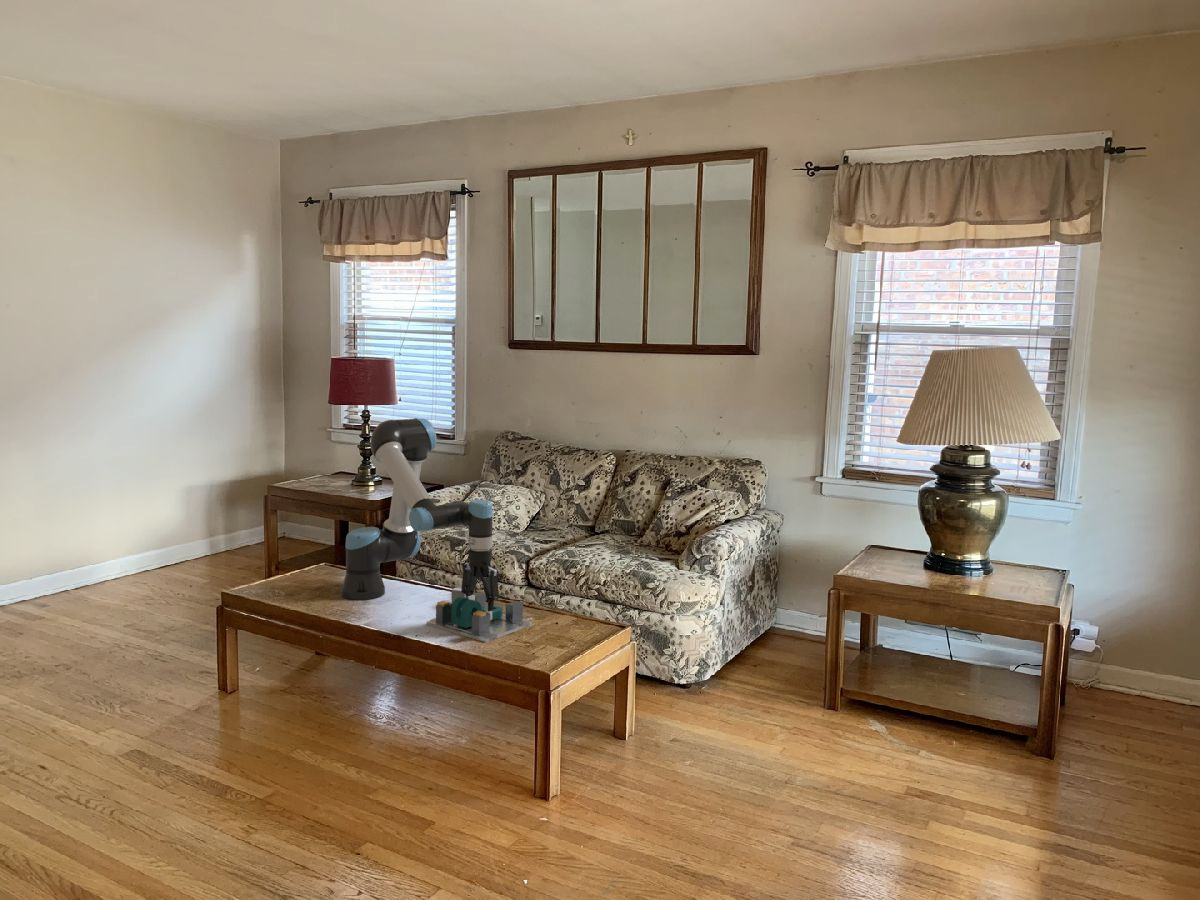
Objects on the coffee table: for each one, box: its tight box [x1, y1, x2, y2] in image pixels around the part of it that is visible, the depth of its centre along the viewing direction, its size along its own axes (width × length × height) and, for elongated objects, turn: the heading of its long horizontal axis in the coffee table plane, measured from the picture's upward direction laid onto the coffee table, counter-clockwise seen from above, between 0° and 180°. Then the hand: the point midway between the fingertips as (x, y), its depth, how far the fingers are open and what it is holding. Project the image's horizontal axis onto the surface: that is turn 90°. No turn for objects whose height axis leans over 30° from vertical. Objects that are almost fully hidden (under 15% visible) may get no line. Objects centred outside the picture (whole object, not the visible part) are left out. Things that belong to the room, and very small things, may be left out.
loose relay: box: [451, 585, 466, 609], centre depth 316 cm, size 5×5×6 cm
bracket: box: [451, 597, 504, 628], centre depth 296 cm, size 18×7×8 cm, turn 140°
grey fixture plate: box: [426, 591, 533, 643], centre depth 296 cm, size 26×22×8 cm
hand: (479, 617), depth 296 cm, fingers closed on bracket, 7 cm apart
